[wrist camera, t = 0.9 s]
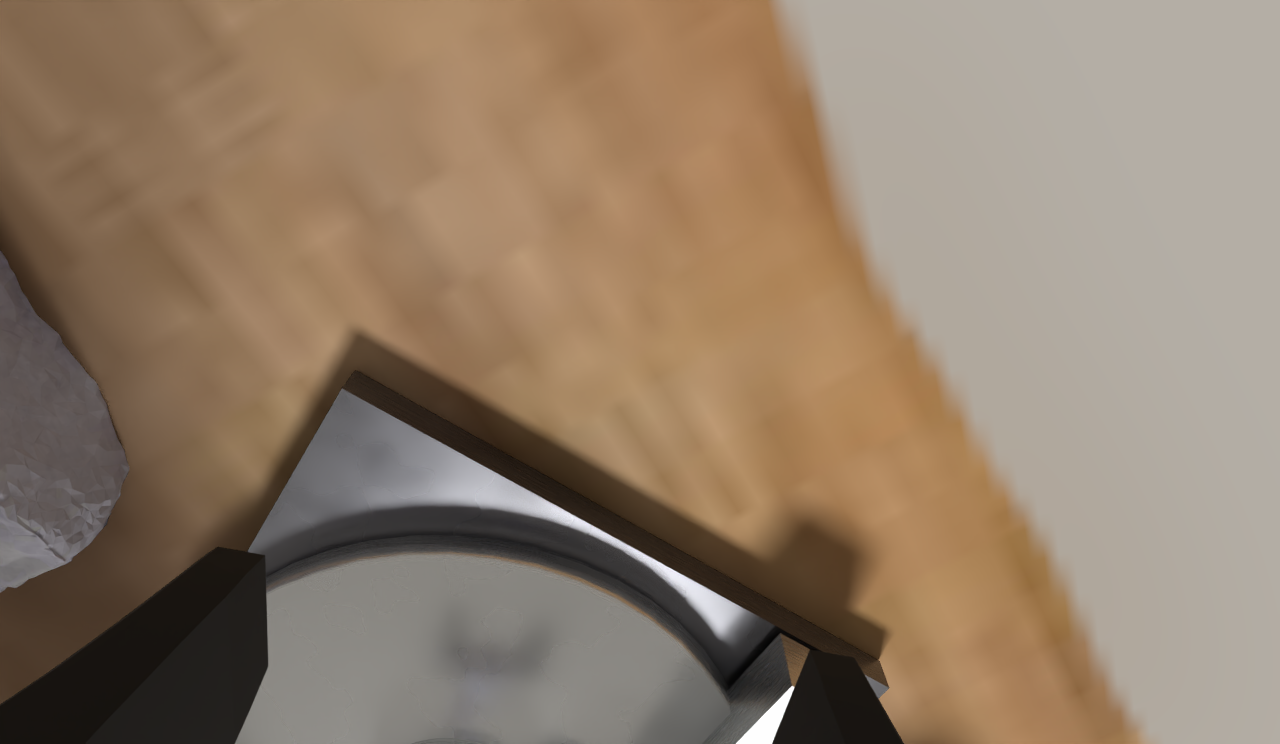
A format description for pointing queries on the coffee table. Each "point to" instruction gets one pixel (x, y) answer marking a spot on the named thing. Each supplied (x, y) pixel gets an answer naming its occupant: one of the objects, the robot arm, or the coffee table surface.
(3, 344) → the stone block
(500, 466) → the disc on square base
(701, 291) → the coffee table surface
